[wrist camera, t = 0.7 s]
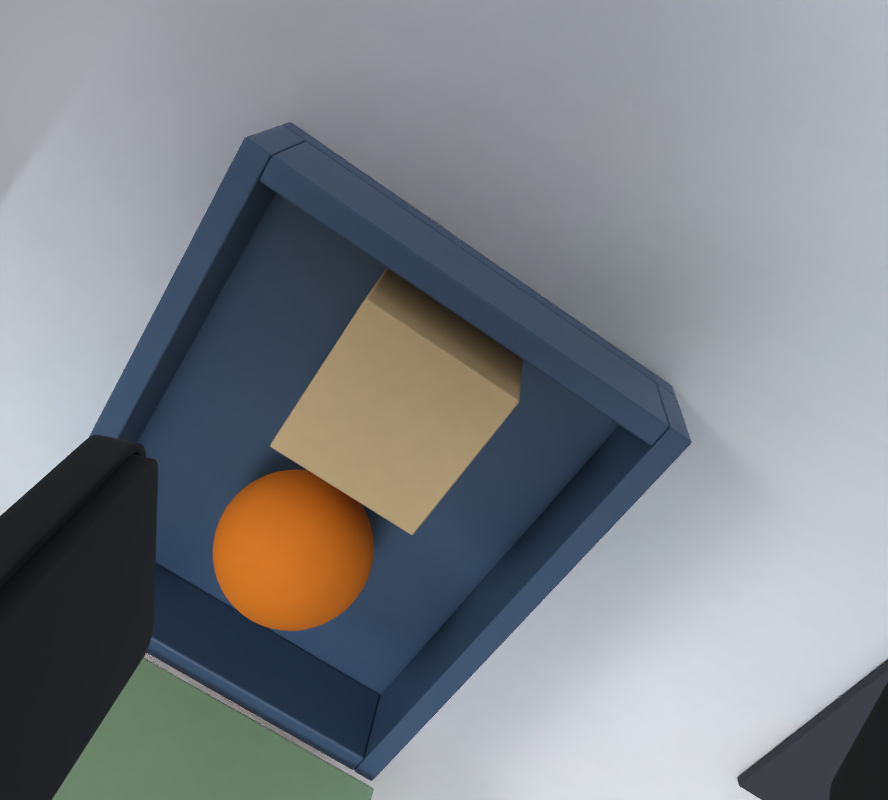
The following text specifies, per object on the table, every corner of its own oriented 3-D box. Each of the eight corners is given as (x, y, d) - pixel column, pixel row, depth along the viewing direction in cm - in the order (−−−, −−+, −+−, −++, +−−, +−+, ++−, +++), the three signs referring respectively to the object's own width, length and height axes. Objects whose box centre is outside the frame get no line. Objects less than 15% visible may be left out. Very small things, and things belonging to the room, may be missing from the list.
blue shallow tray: (289, 121, 24) (244, 136, 21) (673, 386, 26) (692, 442, 23) (76, 516, 31) (14, 578, 28) (391, 701, 33) (371, 782, 30)
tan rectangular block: (391, 259, 25) (365, 298, 21) (524, 349, 26) (519, 402, 22) (306, 391, 27) (268, 446, 23) (430, 471, 28) (412, 536, 24)
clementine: (287, 414, 28) (233, 493, 23) (414, 495, 28) (387, 587, 24) (220, 517, 30) (158, 609, 25) (340, 590, 30) (302, 692, 26)
